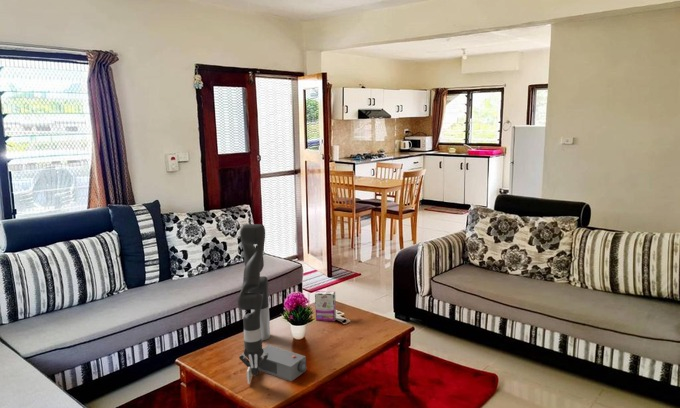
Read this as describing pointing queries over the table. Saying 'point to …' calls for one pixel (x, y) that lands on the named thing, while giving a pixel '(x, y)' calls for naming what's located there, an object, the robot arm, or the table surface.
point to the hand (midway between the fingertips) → (255, 374)
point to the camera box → (283, 363)
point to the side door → (249, 374)
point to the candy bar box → (325, 305)
